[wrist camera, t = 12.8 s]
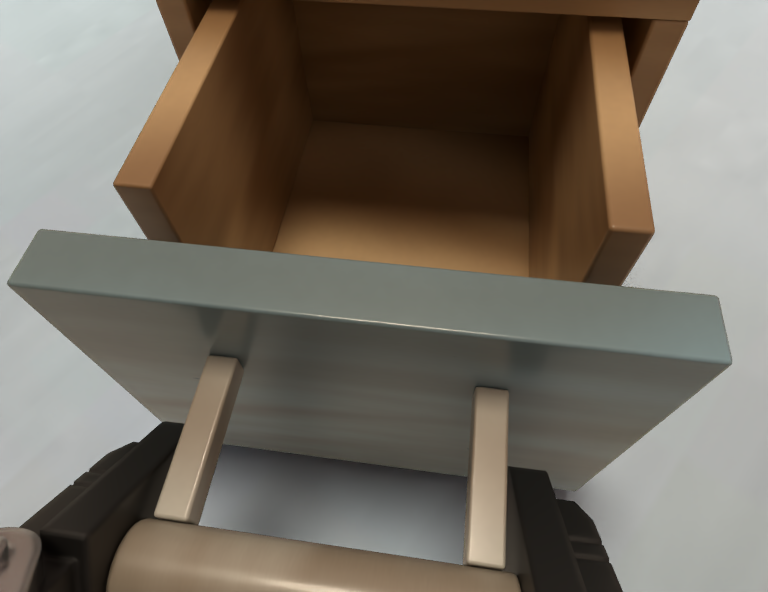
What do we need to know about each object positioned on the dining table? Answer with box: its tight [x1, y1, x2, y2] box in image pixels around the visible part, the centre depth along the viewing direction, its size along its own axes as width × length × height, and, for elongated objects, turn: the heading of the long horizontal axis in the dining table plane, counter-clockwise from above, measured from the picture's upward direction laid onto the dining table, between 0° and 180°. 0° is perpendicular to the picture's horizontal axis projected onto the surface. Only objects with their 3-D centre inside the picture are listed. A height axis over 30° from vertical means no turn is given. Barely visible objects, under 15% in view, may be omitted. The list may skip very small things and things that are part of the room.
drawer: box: [7, 0, 732, 592], centre depth 14 cm, size 18×11×8 cm, turn 172°
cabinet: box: [156, 0, 700, 127], centre depth 20 cm, size 15×13×10 cm
